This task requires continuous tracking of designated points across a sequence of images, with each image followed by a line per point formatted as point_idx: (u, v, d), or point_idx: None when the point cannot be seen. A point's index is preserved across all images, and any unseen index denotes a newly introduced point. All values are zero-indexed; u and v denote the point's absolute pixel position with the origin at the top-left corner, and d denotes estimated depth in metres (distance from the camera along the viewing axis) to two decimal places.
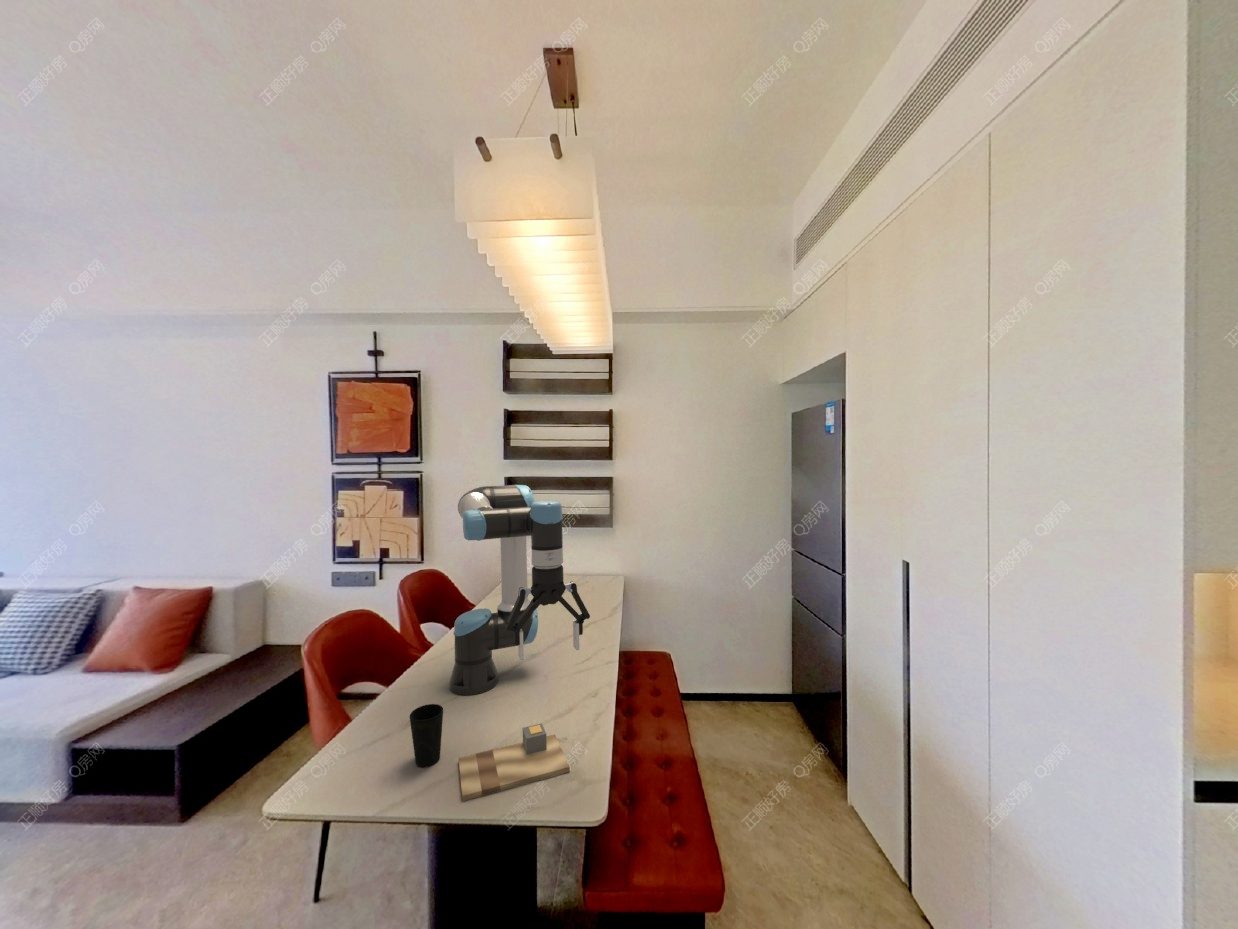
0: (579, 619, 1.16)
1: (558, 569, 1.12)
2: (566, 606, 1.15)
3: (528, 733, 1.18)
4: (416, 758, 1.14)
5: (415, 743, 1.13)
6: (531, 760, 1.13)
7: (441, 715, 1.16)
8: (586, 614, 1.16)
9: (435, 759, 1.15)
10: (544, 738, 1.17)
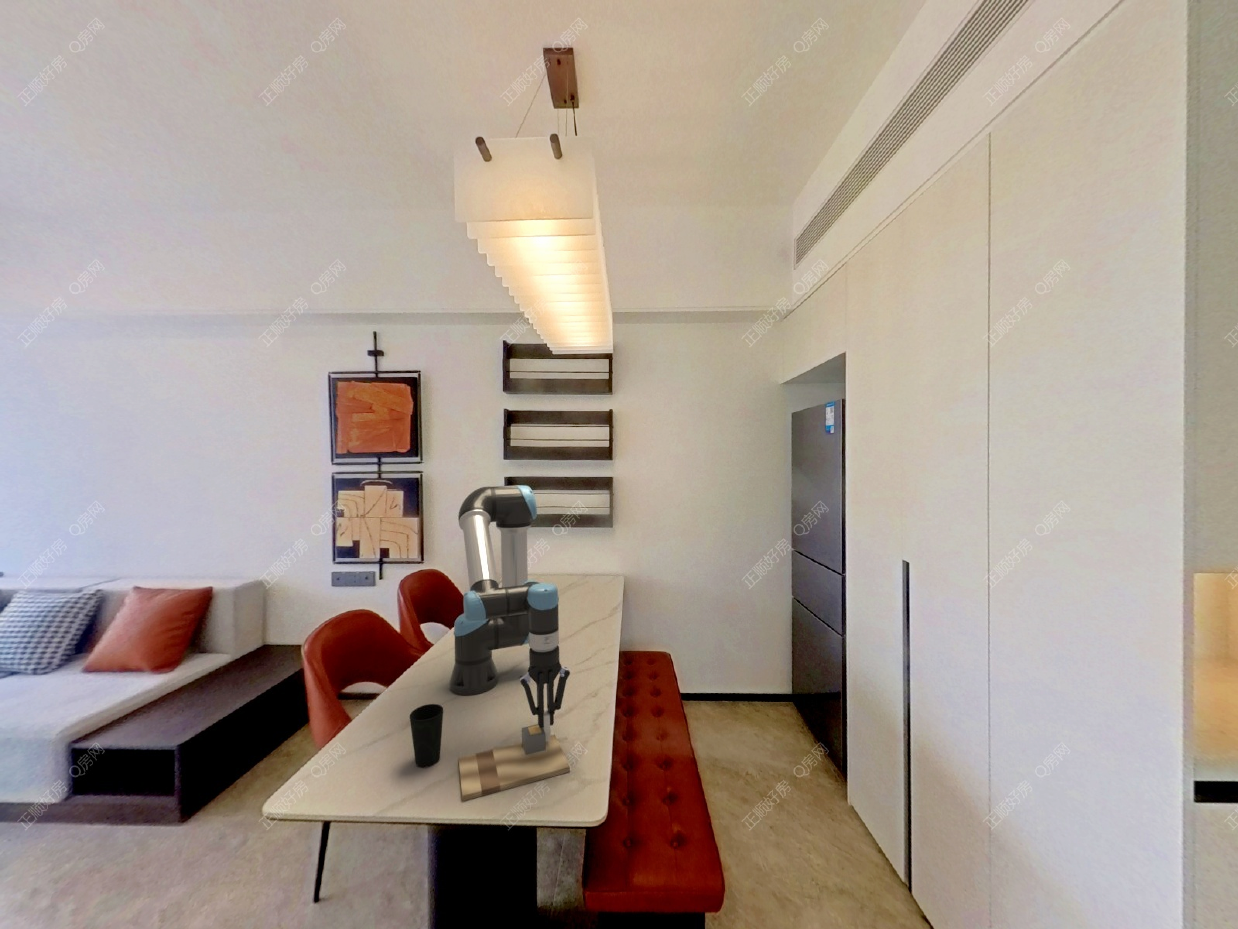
0: (551, 710, 1.19)
1: (554, 651, 1.18)
2: (550, 691, 1.19)
3: (527, 733, 1.18)
4: (416, 758, 1.14)
5: (415, 743, 1.13)
6: (531, 760, 1.13)
7: (441, 715, 1.16)
8: (559, 704, 1.20)
9: (435, 759, 1.15)
10: (543, 738, 1.17)
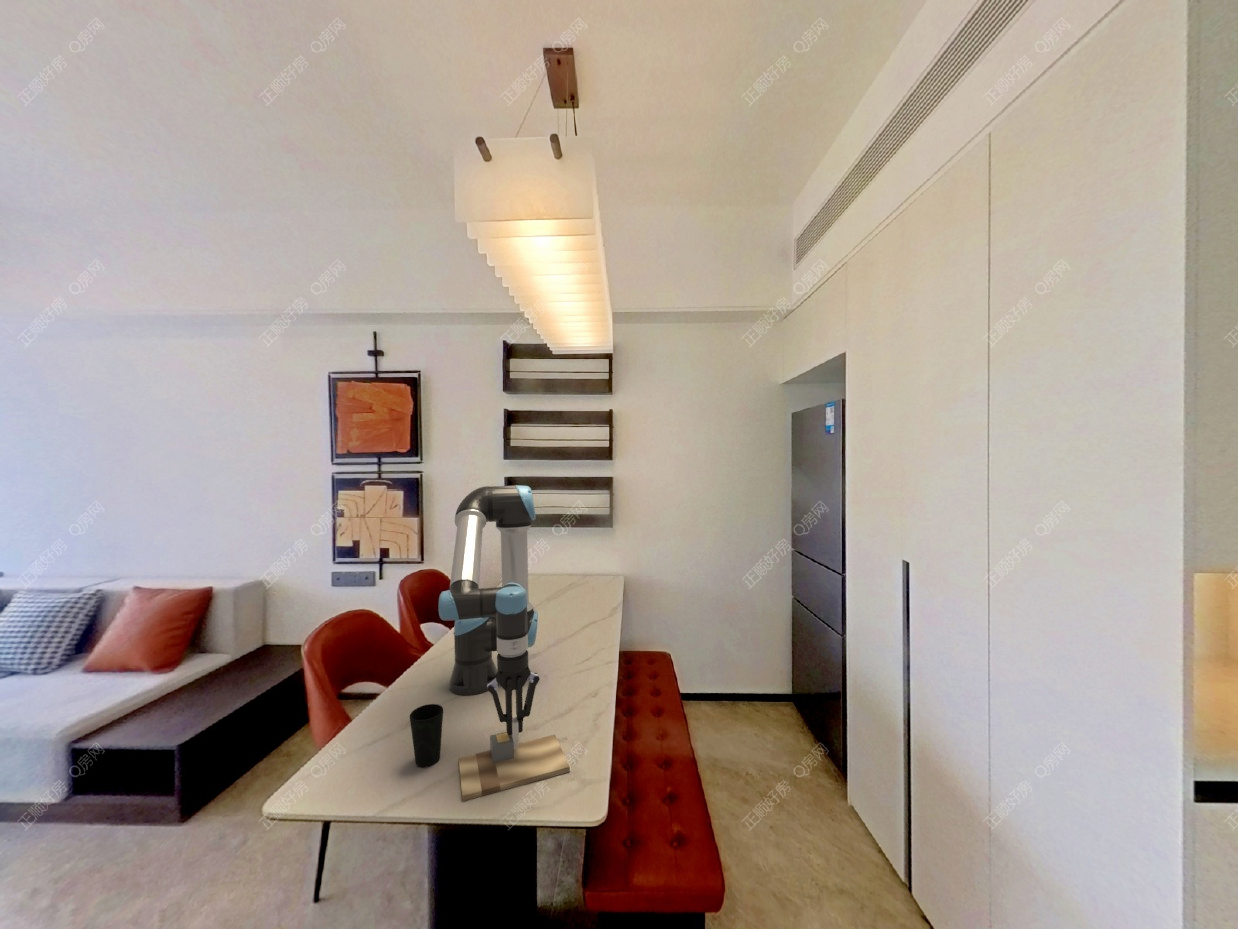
0: (520, 717, 1.16)
1: (522, 657, 1.15)
2: (519, 697, 1.16)
3: (495, 741, 1.15)
4: (416, 758, 1.14)
5: (415, 743, 1.13)
6: (531, 760, 1.13)
7: (441, 715, 1.16)
8: (528, 711, 1.17)
9: (435, 759, 1.15)
10: (511, 746, 1.14)
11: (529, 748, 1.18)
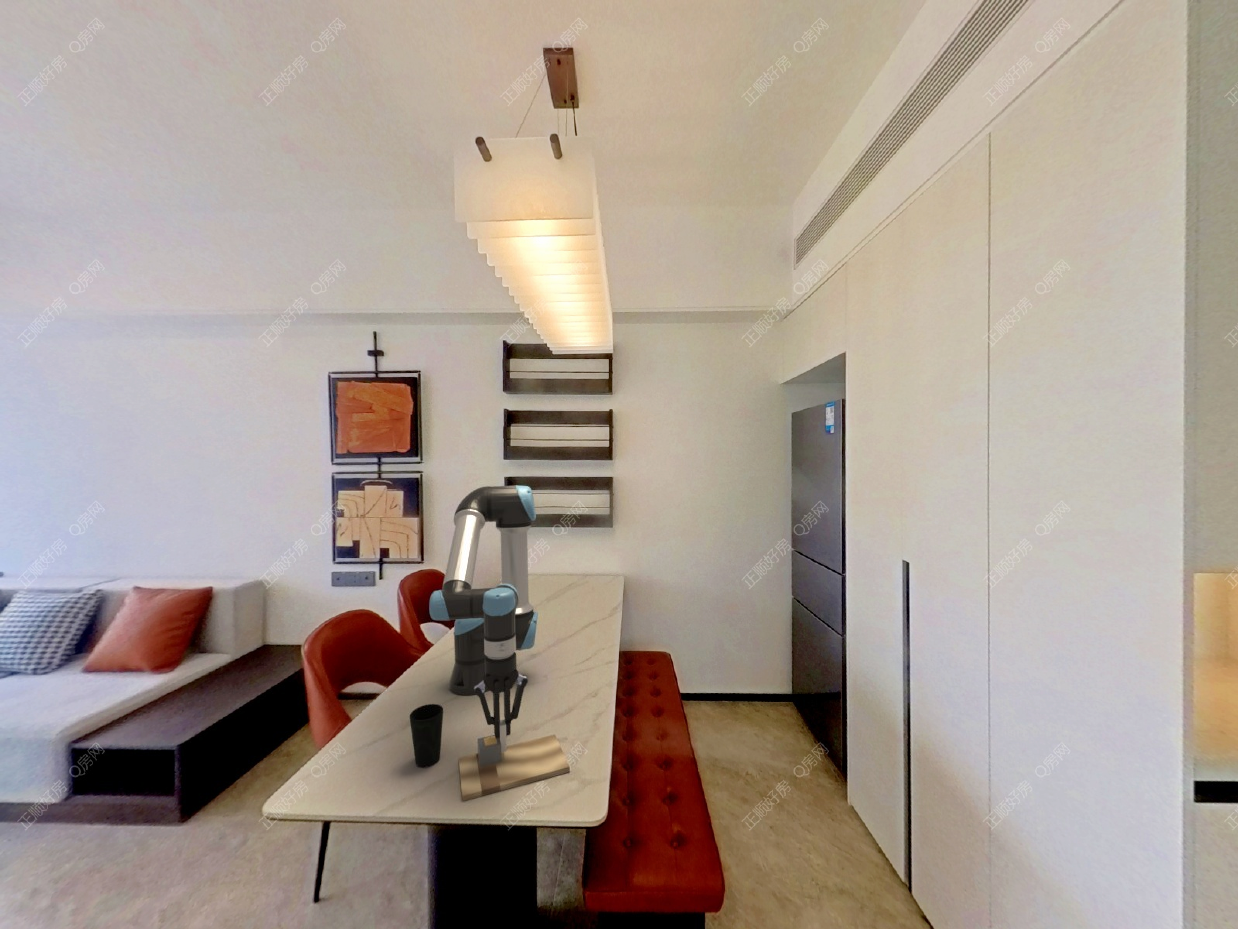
0: (507, 719, 1.15)
1: (510, 659, 1.13)
2: (506, 700, 1.15)
3: (482, 744, 1.13)
4: (416, 758, 1.14)
5: (415, 743, 1.13)
6: (531, 760, 1.13)
7: (441, 715, 1.16)
8: (516, 714, 1.16)
9: (435, 759, 1.15)
10: (499, 749, 1.13)
11: (529, 748, 1.18)
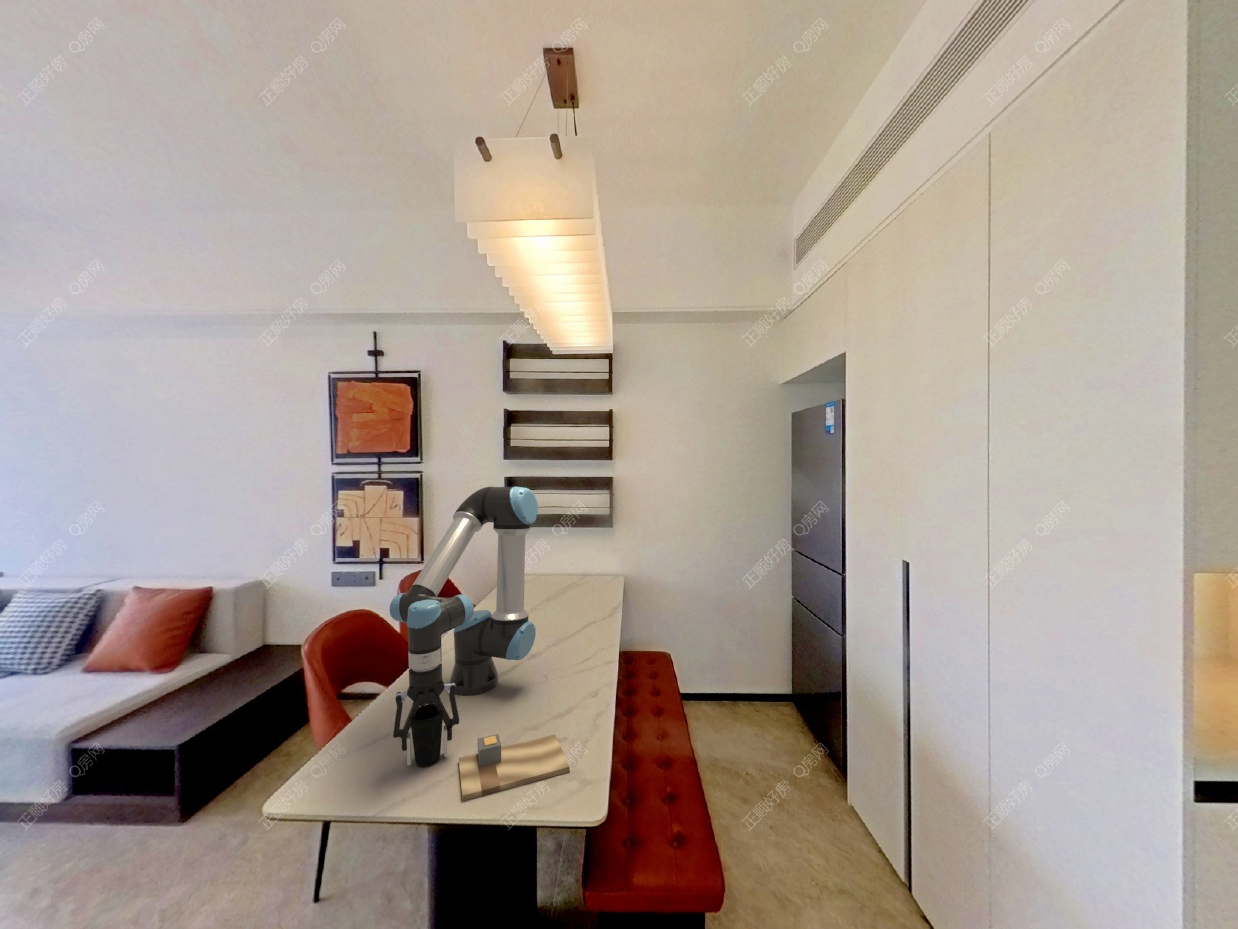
0: (448, 725, 1.17)
1: (434, 671, 1.14)
2: (439, 709, 1.16)
3: (482, 744, 1.13)
4: (416, 758, 1.14)
5: (415, 743, 1.13)
6: (531, 760, 1.13)
7: (441, 715, 1.16)
8: (456, 719, 1.17)
9: (435, 759, 1.15)
10: (499, 749, 1.13)
11: (529, 748, 1.18)
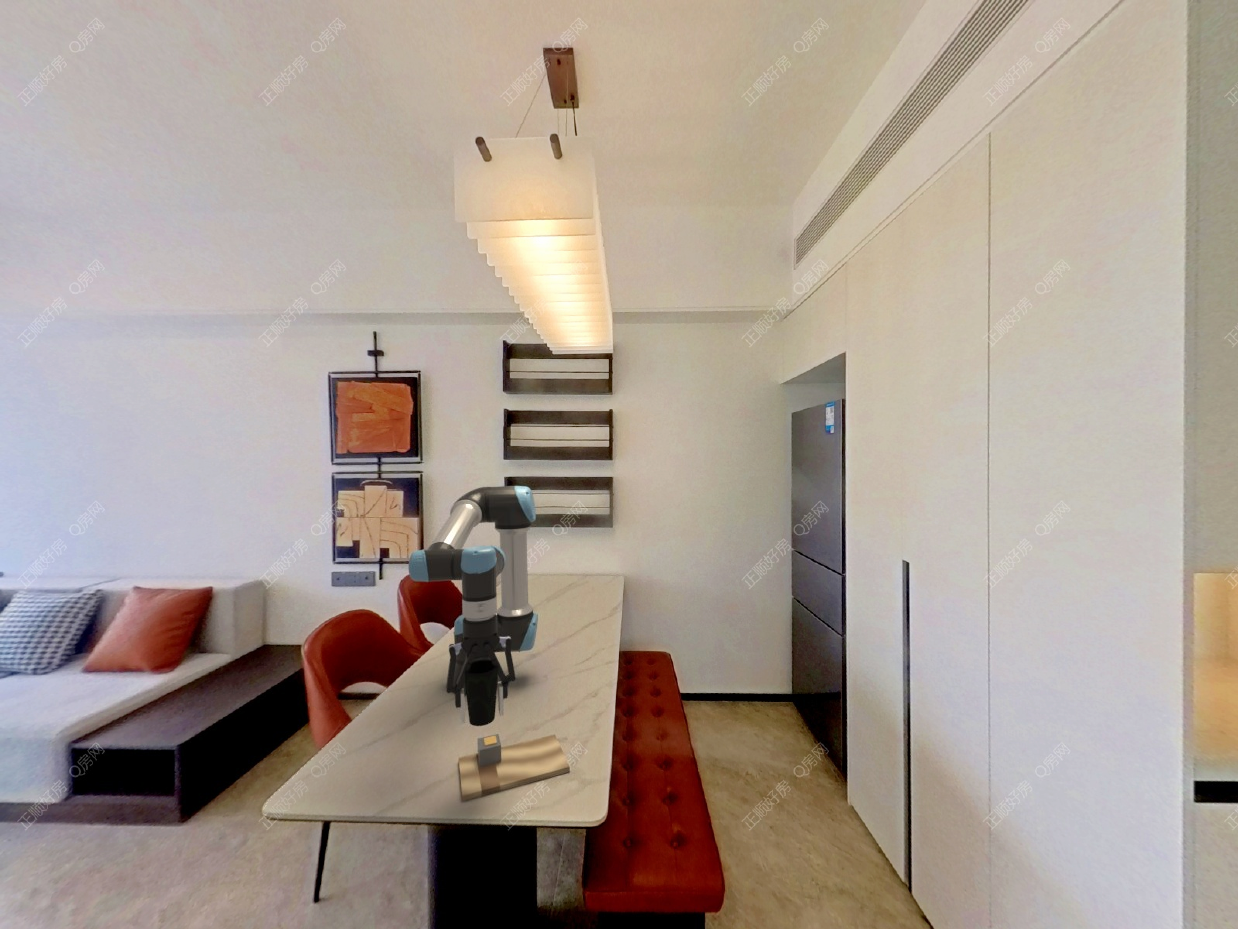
0: (503, 681, 1.07)
1: (490, 621, 1.05)
2: (494, 663, 1.07)
3: (482, 744, 1.13)
4: (470, 716, 1.05)
5: (470, 699, 1.04)
6: (531, 760, 1.13)
7: (497, 670, 1.06)
8: (512, 676, 1.08)
9: (490, 717, 1.05)
10: (499, 749, 1.13)
11: (529, 748, 1.18)
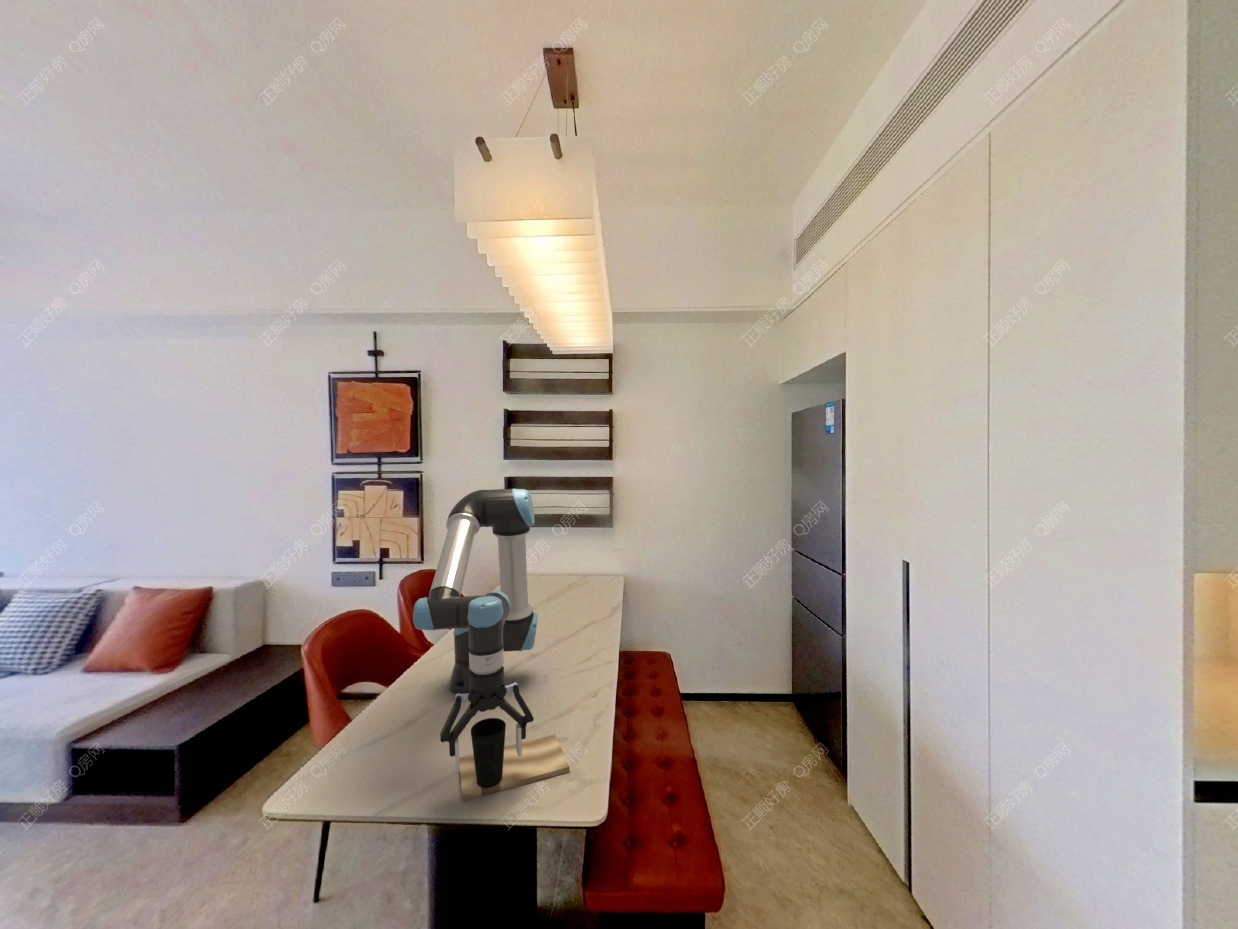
0: (521, 723, 1.08)
1: (497, 674, 1.04)
2: (507, 710, 1.07)
3: None
4: (478, 777, 1.05)
5: (477, 761, 1.04)
6: (531, 760, 1.13)
7: (504, 730, 1.07)
8: (529, 717, 1.09)
9: (498, 778, 1.06)
10: None
11: (529, 748, 1.18)
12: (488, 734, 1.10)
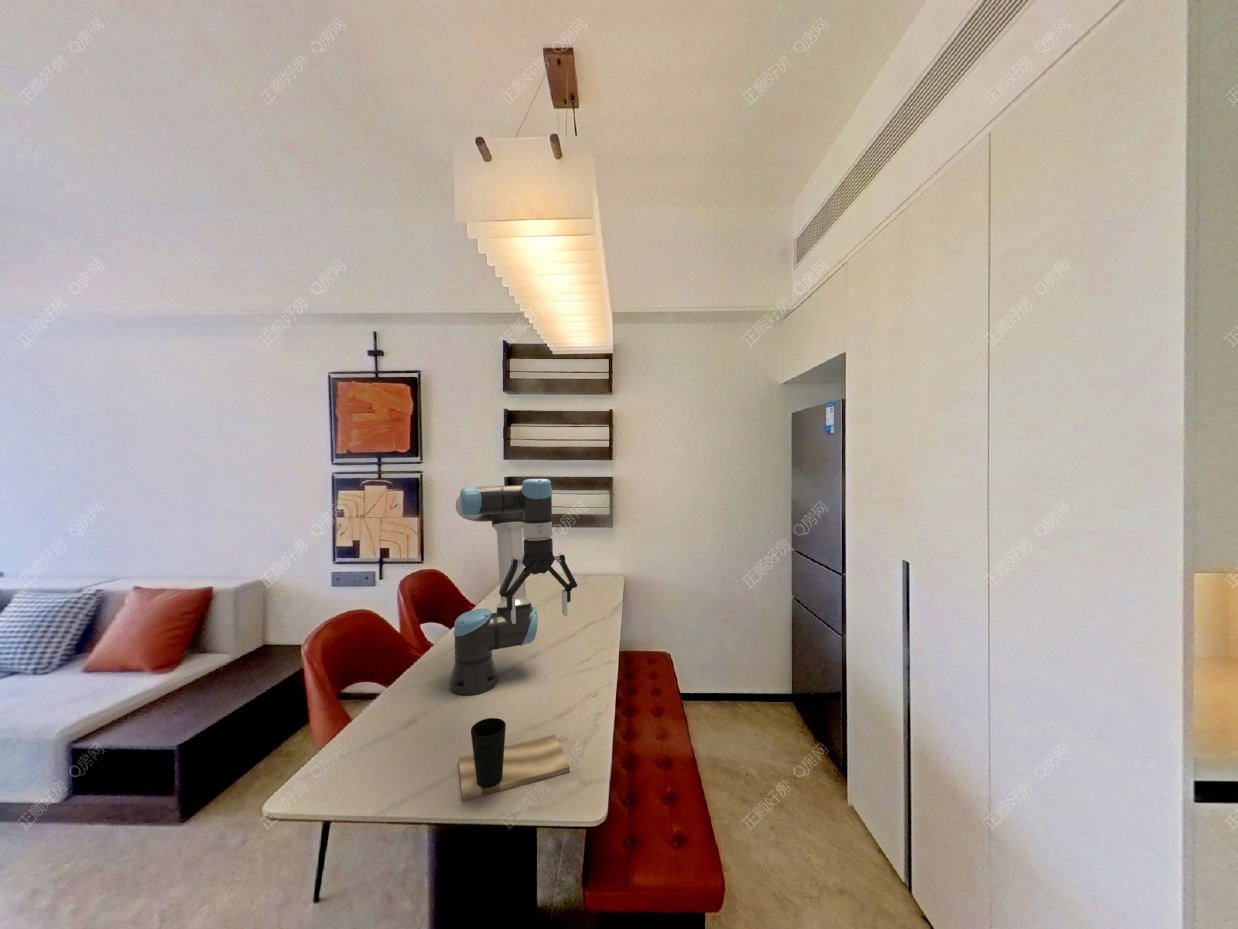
0: (567, 587, 1.26)
1: (548, 541, 1.22)
2: (555, 575, 1.24)
3: None
4: (478, 777, 1.05)
5: (477, 761, 1.04)
6: (531, 760, 1.13)
7: (504, 730, 1.07)
8: (574, 583, 1.26)
9: (498, 778, 1.06)
10: None
11: (529, 748, 1.18)
12: (488, 734, 1.10)
